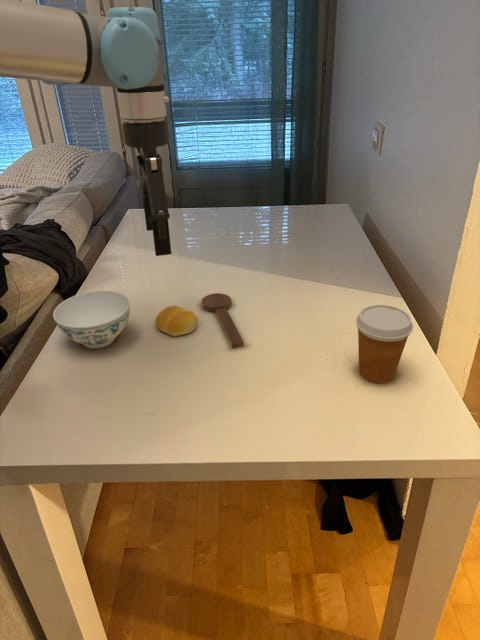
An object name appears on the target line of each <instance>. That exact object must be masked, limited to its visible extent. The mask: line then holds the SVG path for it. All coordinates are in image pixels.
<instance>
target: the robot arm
mask: <svg viewBox="0 0 480 640" xmlns="http://www.w3.org/2000/svg"><path fill="white" fill-rule="evenodd" d="M162 43H163V42H162V39H161V33H160V25H159V20H158V16H157V13H156V12H155V10H153V9H152V8H150V7H143V6H121V7H120V6H118V7H111V8H108V10H107V12H106V16H103V15H99V14H92V13H87V12H79V11H74V10H72V9H65V8H60V7H55V6H51V5H44V4H39V3H33V2H28V1H22V0H0V78H9V79H21V80H31V81H41V82H42V83H44V84H45V85H48V86H49V85H51V86H52V85H59V86H60V85H61V86H66V85H77V84H78V85H85V86H95V87H105V88H116V91H117V92H116V94H117V102H118V109H119V115H120V116H119V117H120V118H121V119H122V120H124V121H123V122H122V124H121V128H122V135H123V143H124V145H125V146H127V147H128V148H133V149H136V150H137V155H136V156H135V157H136V165H137V167H138V173H139V180H140V181H139V182H140V186H139V188H140V190H141V195H142V202H143V211H144V219H145V228H146V231H147V232H149V231H152V235H153V236H152V237H153V245H154V252H155V253H154V254H155V257H159V256H161V257H162V256H168V255H172V246H171V235H170V225H169V219H170V217H171V215H170V212H169V206H168V199H167V194H166V187H165V181H164V172H163V159H162V156H160V154H159V153H158V150H157V148H159V147H164V146H166V145H168V144H169V143H170V134H169V123H168V121H167V120H166V119H165V118H166V116H168V115H167V105H166V104H167V103H169V102H170V98H169V96H167V95H166V92H165V77H164V67H163V54H162V53H163V52H162Z"/></svg>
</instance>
